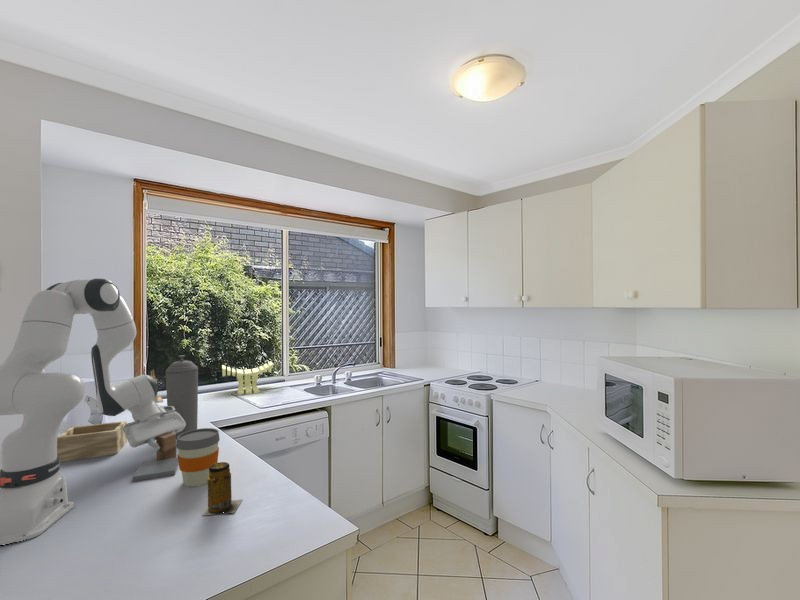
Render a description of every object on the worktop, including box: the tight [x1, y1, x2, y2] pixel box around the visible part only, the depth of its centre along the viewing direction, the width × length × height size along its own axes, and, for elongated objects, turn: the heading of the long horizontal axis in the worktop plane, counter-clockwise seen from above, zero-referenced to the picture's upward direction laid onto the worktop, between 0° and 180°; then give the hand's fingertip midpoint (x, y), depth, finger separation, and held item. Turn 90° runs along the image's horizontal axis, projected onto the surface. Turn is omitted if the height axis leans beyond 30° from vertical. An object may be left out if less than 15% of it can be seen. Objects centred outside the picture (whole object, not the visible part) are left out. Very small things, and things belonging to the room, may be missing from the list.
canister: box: [165, 354, 199, 439], centre depth 170 cm, size 13×13×35 cm
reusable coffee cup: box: [176, 427, 221, 487], centre depth 126 cm, size 12×13×15 cm
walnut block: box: [155, 433, 177, 461], centre depth 143 cm, size 4×4×9 cm
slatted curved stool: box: [221, 361, 274, 395], centre depth 251 cm, size 30×16×18 cm, turn 114°
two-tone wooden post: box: [150, 369, 164, 404], centre depth 191 cm, size 8×12×26 cm
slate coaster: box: [132, 456, 179, 482], centre depth 134 cm, size 12×12×2 cm
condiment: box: [202, 461, 243, 516], centre depth 109 cm, size 7×8×12 cm
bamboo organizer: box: [57, 420, 128, 463], centre depth 152 cm, size 13×18×9 cm
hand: (167, 446), depth 143 cm, fingers closed on walnut block, 4 cm apart
